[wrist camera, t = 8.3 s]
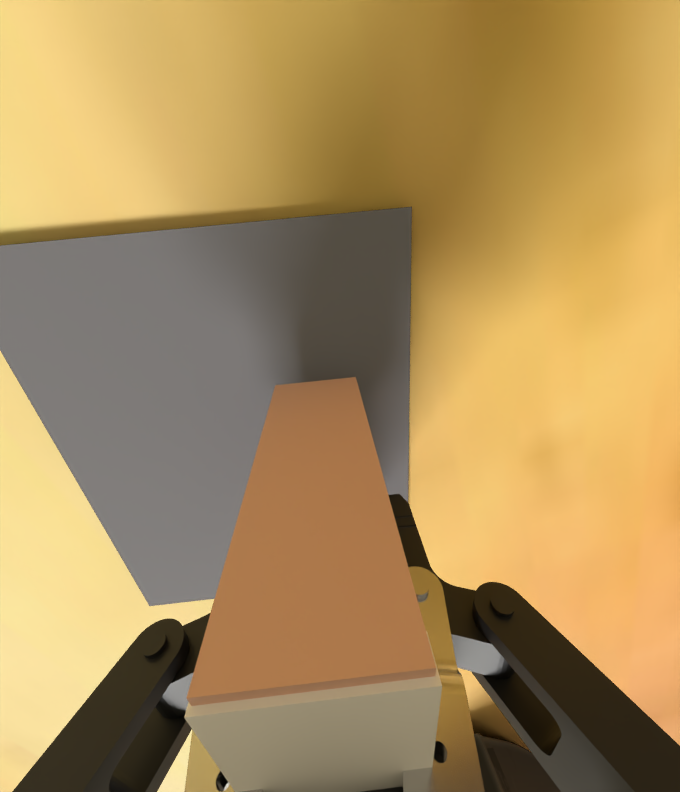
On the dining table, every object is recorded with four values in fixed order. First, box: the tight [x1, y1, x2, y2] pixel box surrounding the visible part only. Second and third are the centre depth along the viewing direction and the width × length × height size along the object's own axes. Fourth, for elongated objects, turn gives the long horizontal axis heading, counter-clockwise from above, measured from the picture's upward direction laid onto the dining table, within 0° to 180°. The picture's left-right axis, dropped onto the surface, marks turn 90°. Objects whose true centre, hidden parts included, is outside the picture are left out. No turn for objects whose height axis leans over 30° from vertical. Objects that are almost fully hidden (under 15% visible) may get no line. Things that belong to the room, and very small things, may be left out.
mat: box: [0, 207, 412, 606], centre depth 16 cm, size 16×20×1 cm
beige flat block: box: [184, 377, 442, 792], centre depth 10 cm, size 3×9×9 cm, turn 5°
